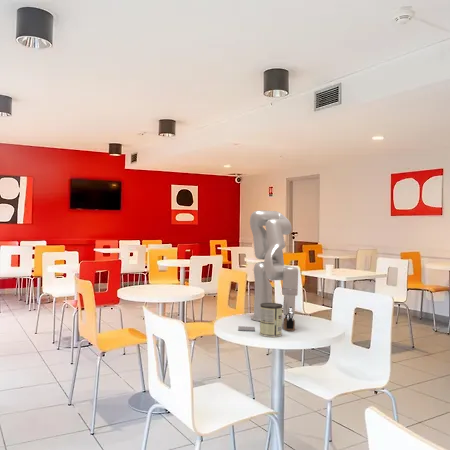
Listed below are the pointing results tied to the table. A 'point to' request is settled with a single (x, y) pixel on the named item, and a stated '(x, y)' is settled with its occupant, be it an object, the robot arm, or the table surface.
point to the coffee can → (271, 319)
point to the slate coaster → (246, 328)
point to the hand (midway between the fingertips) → (288, 326)
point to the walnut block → (286, 324)
